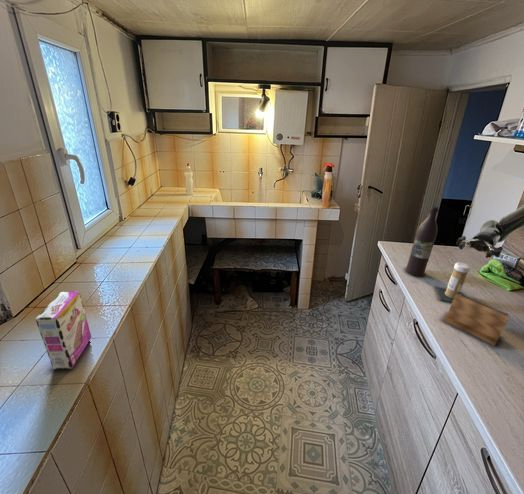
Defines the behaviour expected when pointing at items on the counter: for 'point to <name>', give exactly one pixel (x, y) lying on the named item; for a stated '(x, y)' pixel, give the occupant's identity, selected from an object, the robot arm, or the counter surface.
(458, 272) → the sprinkles bottle
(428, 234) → the wine bottle
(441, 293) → the mat
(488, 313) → the magnetic knife rack
